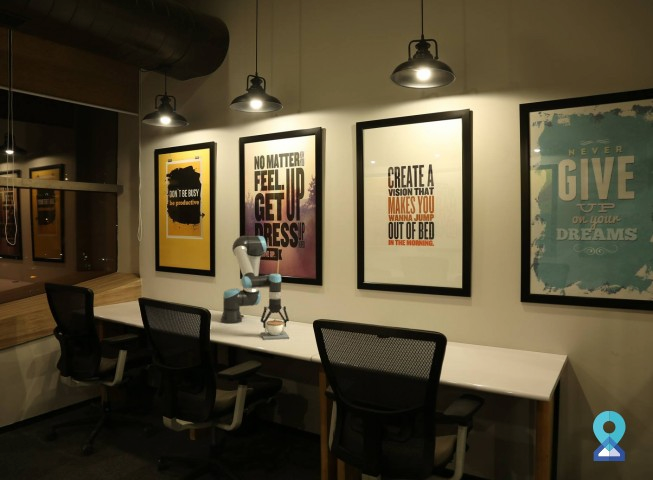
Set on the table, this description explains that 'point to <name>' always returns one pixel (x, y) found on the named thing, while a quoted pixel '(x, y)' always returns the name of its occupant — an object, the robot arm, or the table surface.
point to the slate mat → (274, 336)
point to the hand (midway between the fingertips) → (274, 332)
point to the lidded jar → (274, 327)
